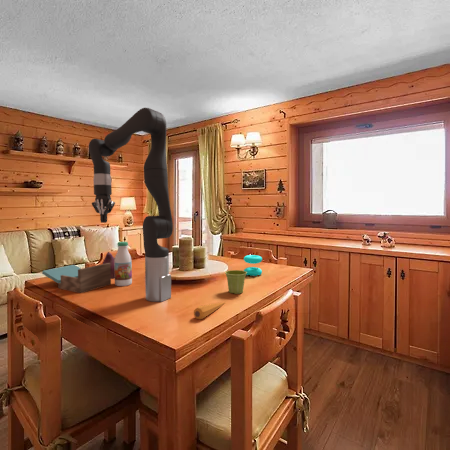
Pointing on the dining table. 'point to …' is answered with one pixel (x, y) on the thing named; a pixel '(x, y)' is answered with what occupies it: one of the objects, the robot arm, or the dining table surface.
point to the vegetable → (111, 260)
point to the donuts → (253, 260)
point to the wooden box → (87, 279)
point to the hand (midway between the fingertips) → (103, 222)
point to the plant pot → (235, 280)
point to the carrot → (206, 310)
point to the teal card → (61, 272)
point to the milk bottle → (123, 265)
